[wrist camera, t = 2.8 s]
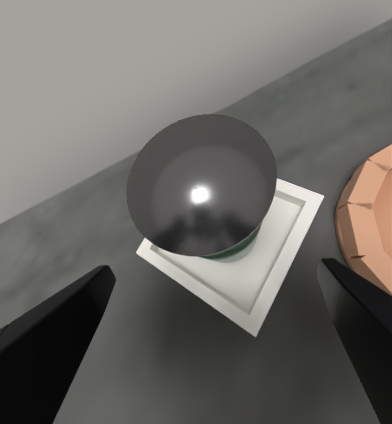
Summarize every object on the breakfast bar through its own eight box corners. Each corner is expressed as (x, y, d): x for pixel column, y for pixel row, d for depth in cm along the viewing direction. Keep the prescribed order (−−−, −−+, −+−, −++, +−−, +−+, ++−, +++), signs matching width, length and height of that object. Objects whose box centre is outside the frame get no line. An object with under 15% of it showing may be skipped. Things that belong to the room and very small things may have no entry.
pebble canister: (270, 216, 17) (306, 138, 7) (238, 277, 16) (225, 291, 6) (212, 189, 19) (173, 101, 9) (181, 242, 19) (101, 210, 8)
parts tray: (314, 205, 17) (324, 196, 15) (254, 327, 16) (255, 337, 14) (204, 162, 22) (198, 149, 19) (148, 254, 20) (135, 252, 18)
